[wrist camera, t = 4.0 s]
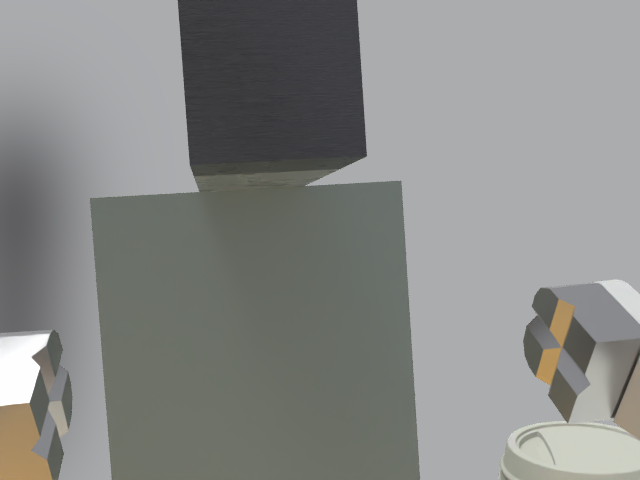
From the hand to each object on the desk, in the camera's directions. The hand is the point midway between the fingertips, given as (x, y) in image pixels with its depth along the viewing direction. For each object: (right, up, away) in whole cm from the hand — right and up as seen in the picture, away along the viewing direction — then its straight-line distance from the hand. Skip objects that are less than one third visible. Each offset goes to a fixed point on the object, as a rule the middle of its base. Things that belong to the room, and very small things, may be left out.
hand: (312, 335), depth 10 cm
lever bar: (-3, +4, +15) cm, 16 cm away
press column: (-2, -22, +22) cm, 31 cm away
